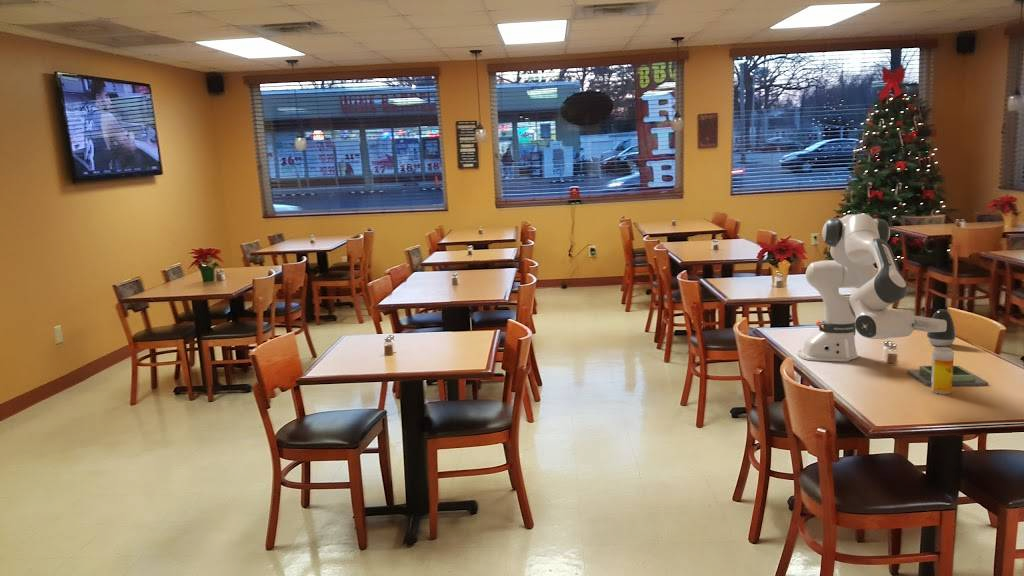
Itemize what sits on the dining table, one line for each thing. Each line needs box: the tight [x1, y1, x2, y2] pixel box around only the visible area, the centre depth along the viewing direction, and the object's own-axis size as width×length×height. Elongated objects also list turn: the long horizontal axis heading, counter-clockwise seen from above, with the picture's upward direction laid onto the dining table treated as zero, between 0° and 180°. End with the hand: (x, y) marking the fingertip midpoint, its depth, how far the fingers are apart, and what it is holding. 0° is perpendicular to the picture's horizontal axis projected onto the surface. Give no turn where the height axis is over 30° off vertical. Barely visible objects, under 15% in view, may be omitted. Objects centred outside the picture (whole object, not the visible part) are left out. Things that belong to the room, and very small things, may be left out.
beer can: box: [930, 346, 955, 395], centre depth 246 cm, size 6×6×15 cm
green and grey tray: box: [907, 364, 989, 387], centre depth 261 cm, size 20×16×3 cm
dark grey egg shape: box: [926, 308, 956, 347], centre depth 304 cm, size 10×10×15 cm
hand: (927, 320), depth 239 cm, fingers open, 8 cm apart
